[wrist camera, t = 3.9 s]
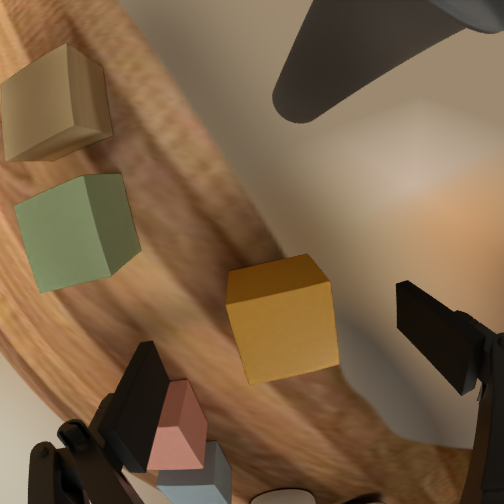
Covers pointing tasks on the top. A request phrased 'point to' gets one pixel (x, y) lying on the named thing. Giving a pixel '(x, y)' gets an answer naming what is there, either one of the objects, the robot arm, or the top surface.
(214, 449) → the blue-grey block
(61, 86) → the birch block
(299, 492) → the milk bottle
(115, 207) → the sage block
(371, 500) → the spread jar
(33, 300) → the top surface
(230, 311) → the ochre block
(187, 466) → the dusty pink block
